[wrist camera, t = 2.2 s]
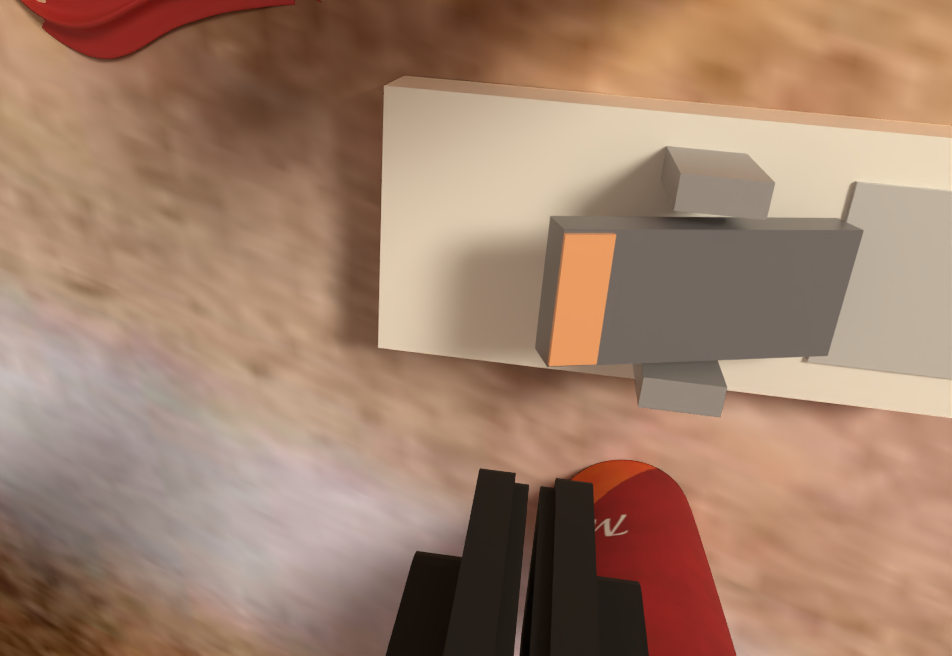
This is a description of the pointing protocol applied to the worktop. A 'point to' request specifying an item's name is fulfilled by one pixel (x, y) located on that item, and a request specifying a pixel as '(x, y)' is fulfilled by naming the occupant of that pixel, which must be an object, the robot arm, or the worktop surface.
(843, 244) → the breaker paddle
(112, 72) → the worktop surface
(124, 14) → the cayenne pepper
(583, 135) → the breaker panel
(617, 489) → the paper cup
